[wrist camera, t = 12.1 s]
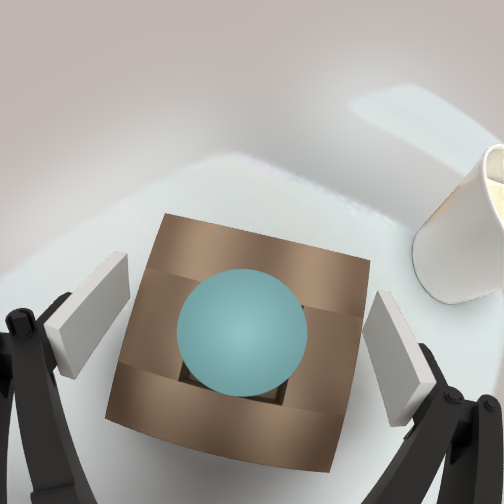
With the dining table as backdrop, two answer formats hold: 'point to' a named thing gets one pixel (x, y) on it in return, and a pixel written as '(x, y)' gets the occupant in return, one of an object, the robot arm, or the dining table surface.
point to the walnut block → (236, 407)
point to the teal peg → (242, 332)
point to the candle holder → (466, 236)
